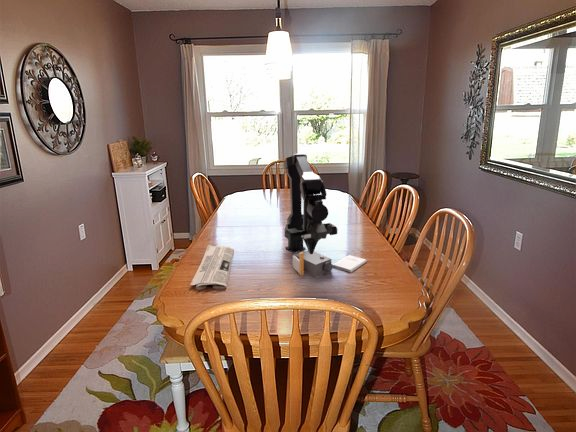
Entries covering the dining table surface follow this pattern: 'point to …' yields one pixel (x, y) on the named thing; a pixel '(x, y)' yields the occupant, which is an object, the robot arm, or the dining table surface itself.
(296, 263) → the side door
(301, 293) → the dining table surface
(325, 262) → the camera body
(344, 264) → the external hard drive
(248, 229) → the dining table surface
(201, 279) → the newspaper
